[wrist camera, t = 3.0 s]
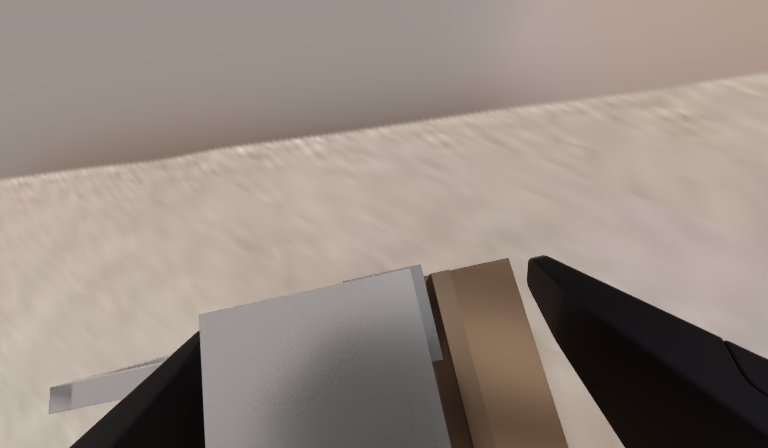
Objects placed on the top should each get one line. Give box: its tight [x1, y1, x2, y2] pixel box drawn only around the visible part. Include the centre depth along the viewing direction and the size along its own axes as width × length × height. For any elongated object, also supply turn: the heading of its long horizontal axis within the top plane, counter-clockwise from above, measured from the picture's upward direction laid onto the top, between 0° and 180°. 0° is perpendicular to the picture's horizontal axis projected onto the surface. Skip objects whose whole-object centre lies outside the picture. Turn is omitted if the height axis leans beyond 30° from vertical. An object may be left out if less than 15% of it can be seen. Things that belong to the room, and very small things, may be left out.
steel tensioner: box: [49, 264, 451, 448], centre depth 8 cm, size 4×13×10 cm, turn 102°
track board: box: [424, 258, 568, 448], centre depth 12 cm, size 13×12×3 cm
